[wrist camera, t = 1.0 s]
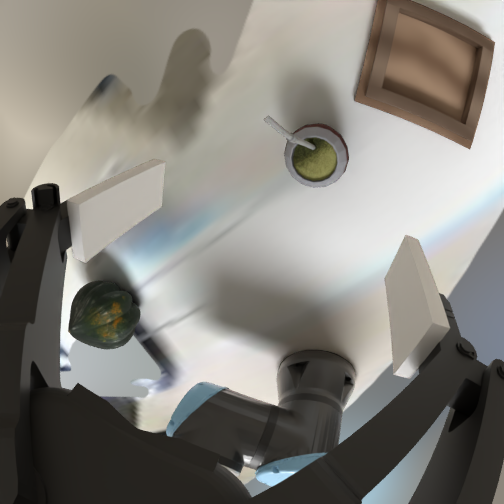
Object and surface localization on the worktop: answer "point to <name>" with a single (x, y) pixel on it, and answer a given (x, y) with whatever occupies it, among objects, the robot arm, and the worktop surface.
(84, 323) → the squash
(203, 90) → the worktop surface
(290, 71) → the worktop surface
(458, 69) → the holder board
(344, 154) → the mate gourd
